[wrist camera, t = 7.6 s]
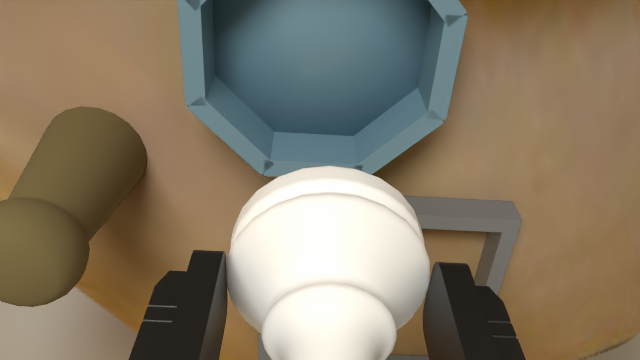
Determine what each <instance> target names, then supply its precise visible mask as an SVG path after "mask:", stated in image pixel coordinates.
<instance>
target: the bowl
mask: <svg viewBox="0 0 640 360" xmlns="http://www.w3.org/2000/svg"><path fill="white" fill-rule="evenodd" d="M177 1H178V15H179V28H180V41H181V55H182V68H183V82H184V95H185V105H188V107H187V109H188V110H189V111H191V112H192V113H193V114H194V115H195V116H196V117H197V118H198V119H199V120H201V121H202V122H203V123H204V124H205V125H206V126H207V127H208V128H209V129H211V130H212V131H213V132H214V133H215V134H216V135H217V136H218V137H219V138H221V139H222V140H223V141H224V142H225V143H226V144H227V145H228V146H229V147H231V148H232V149H233V150H234V151H235V152H236V153H237V154H238V155H239V156H241V157H242V158H243V159H244V160H245V161H246V162H247V163H248V164H249V165H251V166H252V167H253V168H254V169H255V170H256V171H257V172H258V173H259V174H260V175H261V174H263V173H264V176H273V177H279V176H282V175H285V174H288V173H291V172H294V171H297V170H300V169H303V168H311V167H321V166H336V167H344V168H352V169H357V170H360V171H363V172H365V173H368V174H371V175H372V174H373V173H375V172H376V171H377V170H379V169H380V168H382V167H383V166H384V165H386V164H387V163H389V162H390V161H391V160H393V159H394V158H396V157H397V156H398V155H400V154H401V153H403V152H404V151H405V150H407V149H408V148H410V147H411V146H412V145H414V144H415V143H417V142H418V141H419V140H421V139H422V138H424V137H425V136H426V135H428V134H429V133H431V132H432V131H433V130H435V129H436V128H438V127H439V126H440V125H442V124H443V123H444V121H443V120H446V119H447V114H448V109H449V104H450V100H451V95H452V90H453V85H454V80H455V76H456V71H457V66H458V61H459V57H460V52H461V47H462V42H463V37H464V33H465V28H466V23H467V18H468V15H467V14H466V13H467V11H466V10H465V9H464V7H463V6H462V5H461V3H460V2H459V0H177Z"/></svg>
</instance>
